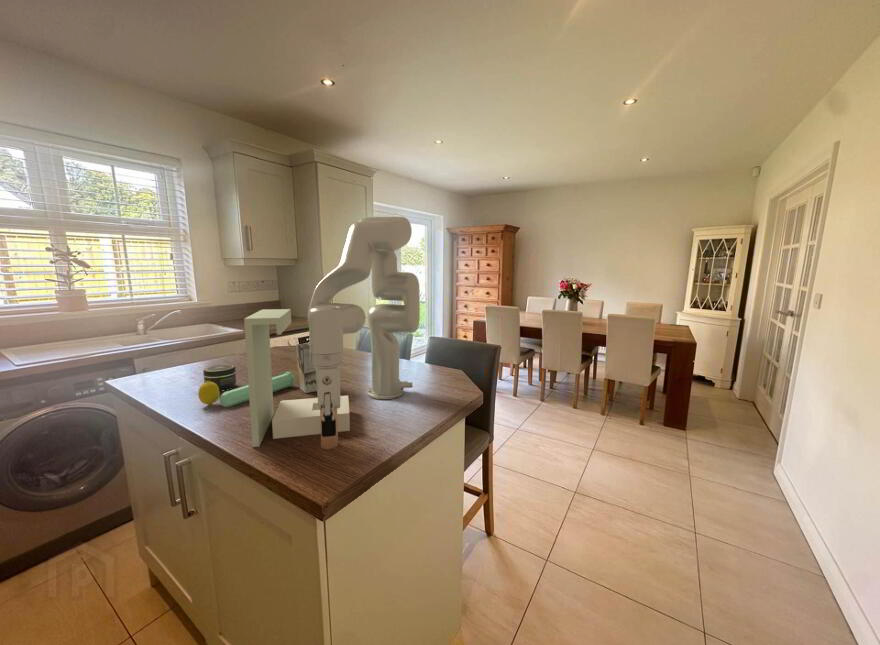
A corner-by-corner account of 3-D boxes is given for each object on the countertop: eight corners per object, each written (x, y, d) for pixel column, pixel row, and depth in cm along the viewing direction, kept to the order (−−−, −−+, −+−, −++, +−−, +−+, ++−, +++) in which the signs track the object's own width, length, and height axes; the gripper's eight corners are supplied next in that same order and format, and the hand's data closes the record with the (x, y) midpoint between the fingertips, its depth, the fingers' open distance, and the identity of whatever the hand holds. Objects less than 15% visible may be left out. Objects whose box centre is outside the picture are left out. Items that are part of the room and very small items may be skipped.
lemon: (224, 403, 112) (222, 379, 111) (206, 409, 107) (204, 384, 106) (213, 401, 115) (211, 377, 113) (195, 406, 110) (193, 382, 108)
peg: (338, 440, 89) (336, 395, 88) (338, 448, 85) (336, 400, 84) (321, 442, 88) (320, 396, 86) (320, 450, 84) (319, 402, 83)
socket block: (348, 411, 108) (348, 395, 107) (349, 430, 95) (349, 413, 94) (281, 417, 103) (280, 400, 102) (273, 438, 90) (272, 420, 89)
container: (223, 390, 108) (292, 369, 129) (214, 394, 111) (282, 373, 132) (229, 408, 107) (297, 385, 129) (219, 412, 110) (287, 388, 132)
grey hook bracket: (295, 412, 106) (290, 309, 102) (285, 443, 87) (279, 317, 83) (268, 415, 104) (262, 309, 100) (252, 447, 85) (244, 318, 81)
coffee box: (323, 390, 127) (321, 346, 124) (304, 393, 123) (303, 348, 121) (314, 383, 134) (313, 342, 132) (297, 386, 130) (295, 344, 128)
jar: (199, 389, 126) (197, 368, 125) (228, 382, 134) (226, 362, 133) (213, 394, 121) (211, 373, 120) (242, 386, 129) (241, 366, 128)
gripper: (343, 367, 77) (345, 445, 79) (343, 350, 93) (344, 416, 95) (307, 369, 75) (310, 449, 77) (312, 351, 91) (315, 419, 93)
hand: (329, 430), depth 86 cm, fingers open, 4 cm apart
